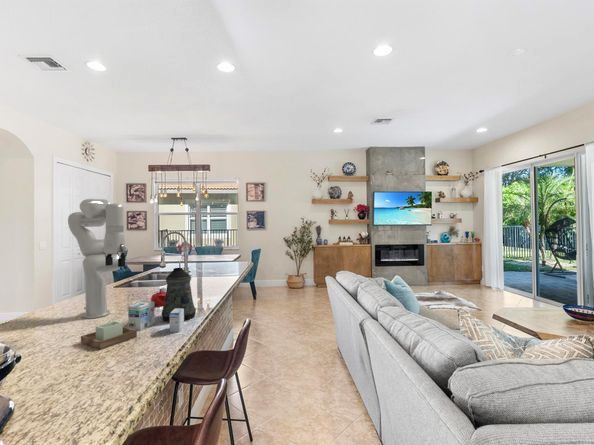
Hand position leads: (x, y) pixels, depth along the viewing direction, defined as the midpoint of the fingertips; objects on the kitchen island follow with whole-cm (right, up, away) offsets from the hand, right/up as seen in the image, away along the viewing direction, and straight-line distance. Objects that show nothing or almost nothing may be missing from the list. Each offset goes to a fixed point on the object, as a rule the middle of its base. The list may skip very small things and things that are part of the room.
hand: (115, 266), depth 158 cm
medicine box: (+31, -29, -5) cm, 43 cm away
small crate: (+8, -28, -19) cm, 34 cm away
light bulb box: (+13, -29, -1) cm, 31 cm away
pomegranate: (+6, -28, +37) cm, 47 cm away
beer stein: (+24, -28, +13) cm, 40 cm away
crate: (+8, -29, -19) cm, 35 cm away
